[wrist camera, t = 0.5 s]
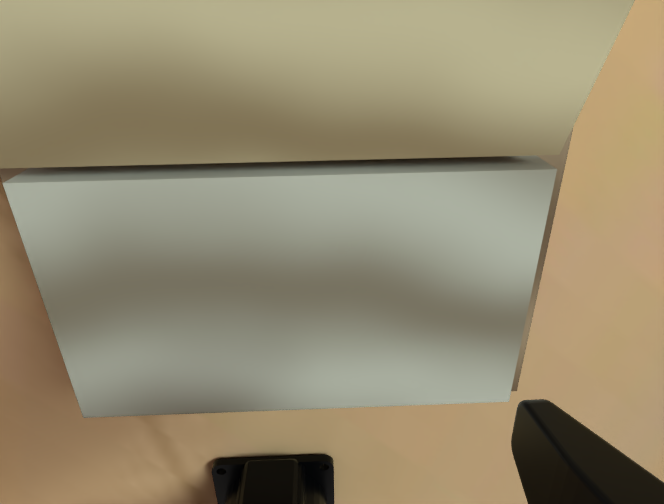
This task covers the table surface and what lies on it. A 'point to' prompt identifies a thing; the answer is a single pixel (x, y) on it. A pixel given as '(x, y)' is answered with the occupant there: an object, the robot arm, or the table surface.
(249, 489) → the robot arm
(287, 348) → the floor base
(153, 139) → the pale yellow square slab
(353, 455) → the table surface
